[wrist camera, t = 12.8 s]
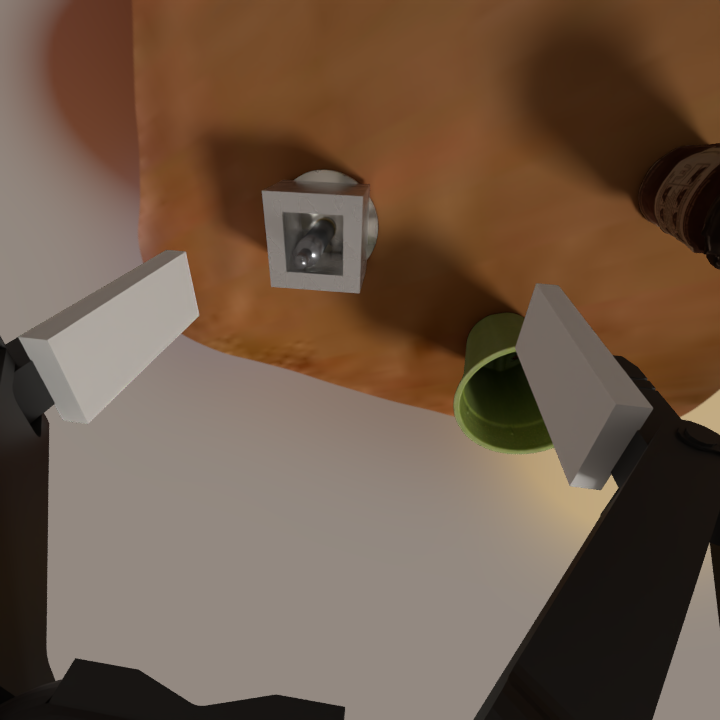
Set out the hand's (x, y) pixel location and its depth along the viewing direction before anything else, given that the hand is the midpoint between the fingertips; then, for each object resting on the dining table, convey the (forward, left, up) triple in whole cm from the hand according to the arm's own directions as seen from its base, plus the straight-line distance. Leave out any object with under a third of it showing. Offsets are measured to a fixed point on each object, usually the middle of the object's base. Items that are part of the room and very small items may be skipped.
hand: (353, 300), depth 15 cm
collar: (+3, -6, -24) cm, 25 cm away
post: (+3, -6, -24) cm, 25 cm away
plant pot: (+14, +13, -25) cm, 31 cm away
